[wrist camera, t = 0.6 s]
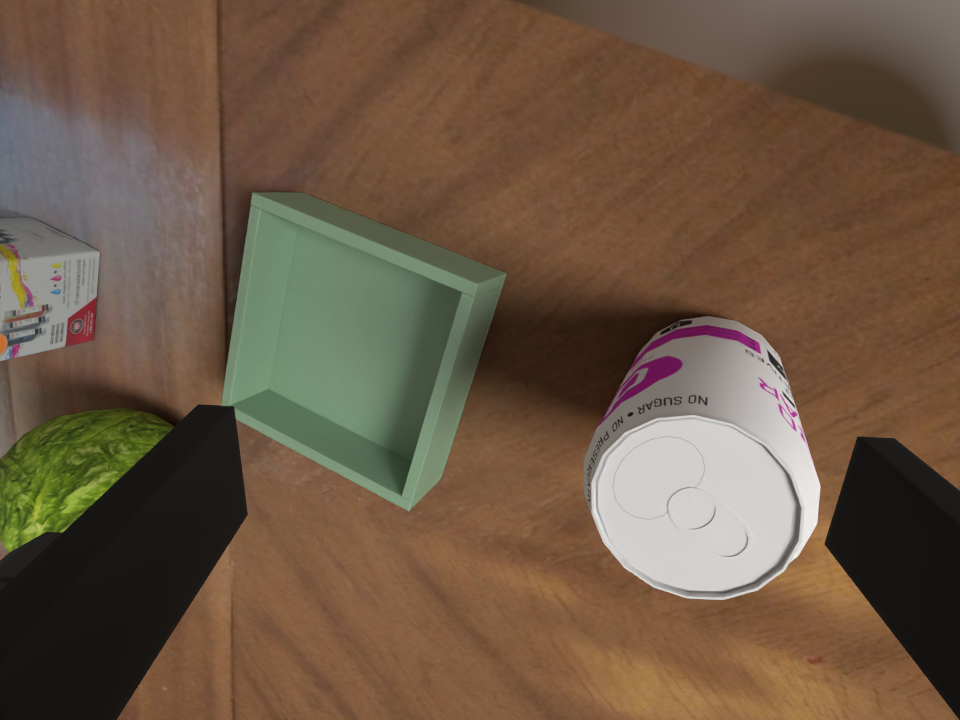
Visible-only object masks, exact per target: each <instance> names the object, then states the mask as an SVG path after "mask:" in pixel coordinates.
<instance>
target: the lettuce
mask: <svg viewBox="0 0 960 720" xmlns="http://www.w3.org/2000/svg"><path fill="white" fill-rule="evenodd" d="M174 427H175V426H173V425H171V424H170V423H168V422H166V421H165V420H163V419H161V418H159V417H158V416H156V415H154V414H149V413H145V412H140V411H136V410H131V409H127V408H116V409H104V410H92V411H86V412H81V413H75V414H69V415H63V416H57V417H54V418H52V419H50V420H49V421H47V422H45V423H43V424H42V425H40V426H38V427H37V428H35V429H33V430H31V431H30V432H28V433H26V434H25V435H23V436H22V437H21V438H20V439H19V440H18V441H17V442H16V443H15V444H14V445H13V446H12V448H11V449H10V450H9V451H8V452H7V453H6V454H5V455H4V456H3V457H2V458H1V459H0V540H1V542H2V544H3V546H4V547H5V548H6V550H7V551H8V552H9V553H10V552H11V551H13V550H15V549H16V548H18V547H20V546H22V545H24V544H25V543H27V542H29V541H31V540H32V539H34V538H36V537H38V536H40V535H41V534H43V533H45V532H63V531H64V530H66V529H67V528H68V527H69V526H70V525H71V524H72V523H73V522H74V521H75V520H76V519H77V518H78V517H79V516H80V515H81V514H83V513H84V512H85V511H86V510H87V509H88V508H89V507H90V506H91V505H92V504H93V503H94V502H95V501H96V500H97V499H98V498H100V497H101V496H102V495H103V494H104V493H105V492H106V491H107V490H108V489H109V488H110V487H111V486H112V485H113V484H114V483H115V482H117V481H118V480H119V479H120V478H121V477H122V476H123V475H124V474H125V473H126V472H127V471H128V470H129V469H130V468H131V467H132V466H134V465H135V464H136V463H137V462H138V461H139V460H140V459H141V458H142V457H143V456H144V455H145V454H146V453H147V452H148V451H149V450H151V449H152V448H153V447H154V446H155V445H156V444H157V443H158V442H159V441H160V440H161V439H162V438H163V437H164V436H165V435H166V434H168V433H169V432H170V431H171V430H172V429H173V428H174Z"/></svg>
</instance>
